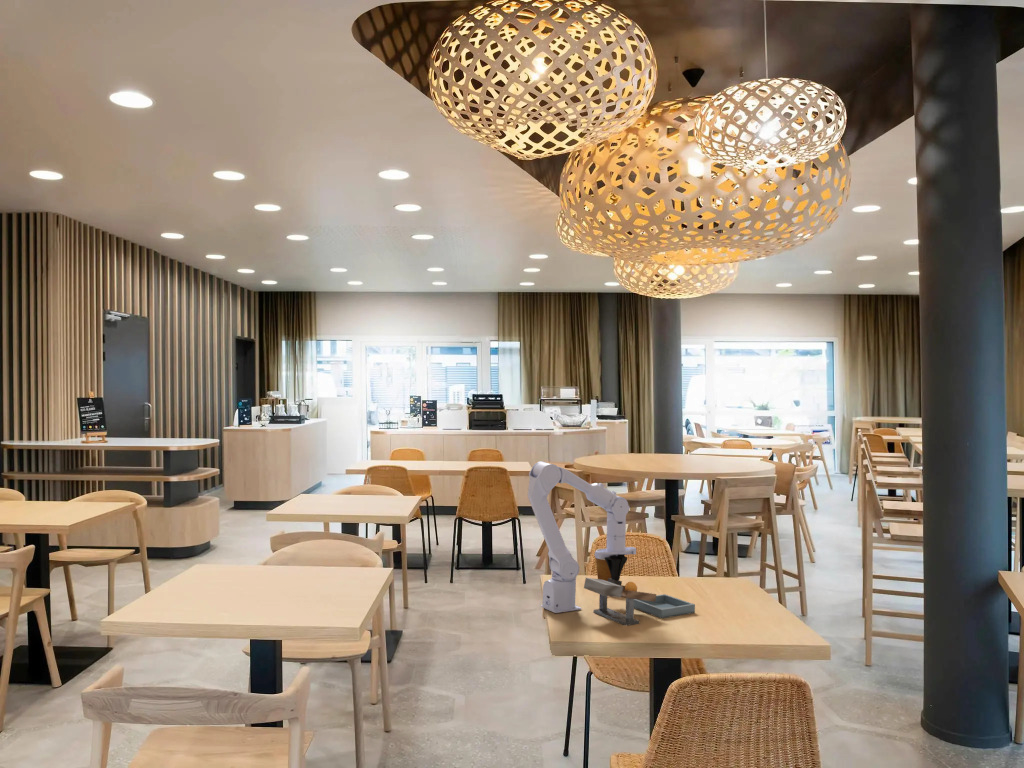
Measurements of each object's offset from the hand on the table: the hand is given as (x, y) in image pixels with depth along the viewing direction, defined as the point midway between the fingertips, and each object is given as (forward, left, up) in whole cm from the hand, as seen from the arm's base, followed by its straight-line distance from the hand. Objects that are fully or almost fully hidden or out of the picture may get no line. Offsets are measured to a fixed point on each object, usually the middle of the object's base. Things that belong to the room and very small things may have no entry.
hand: (615, 579), depth 239 cm
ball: (-3, -11, 0) cm, 11 cm away
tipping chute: (-7, -7, -1) cm, 10 cm away
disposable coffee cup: (+12, +18, -8) cm, 23 cm away
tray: (+10, -11, -8) cm, 16 cm away
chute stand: (-8, -11, -8) cm, 16 cm away
